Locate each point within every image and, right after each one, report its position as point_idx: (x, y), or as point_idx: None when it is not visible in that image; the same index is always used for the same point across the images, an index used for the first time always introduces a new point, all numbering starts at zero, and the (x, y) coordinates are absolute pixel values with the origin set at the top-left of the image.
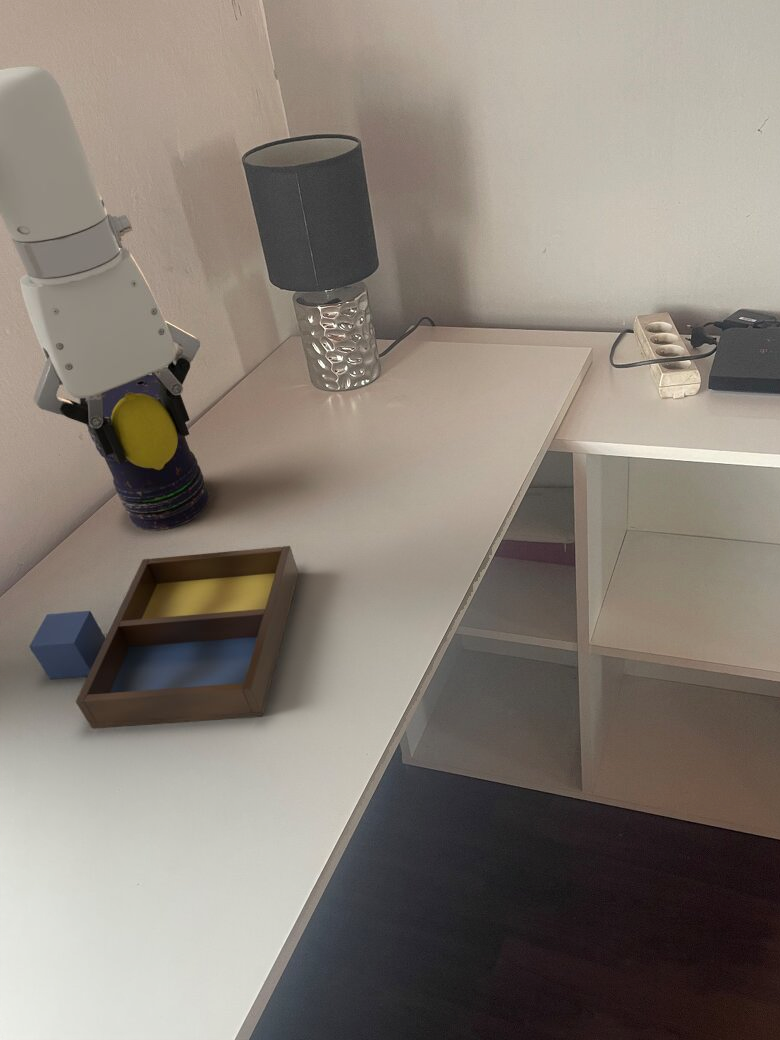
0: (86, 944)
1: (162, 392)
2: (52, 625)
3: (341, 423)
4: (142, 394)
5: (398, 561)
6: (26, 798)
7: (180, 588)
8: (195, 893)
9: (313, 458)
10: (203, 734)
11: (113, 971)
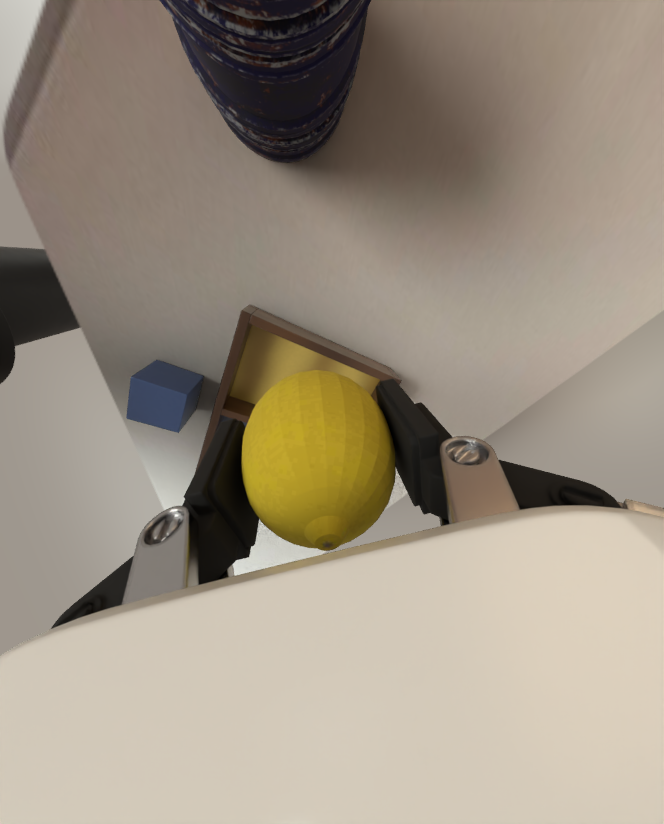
0: None
1: (421, 469)
2: (145, 399)
3: None
4: (365, 510)
5: (463, 397)
6: (167, 491)
7: (279, 342)
8: (269, 552)
9: (533, 84)
10: None
11: (234, 566)
